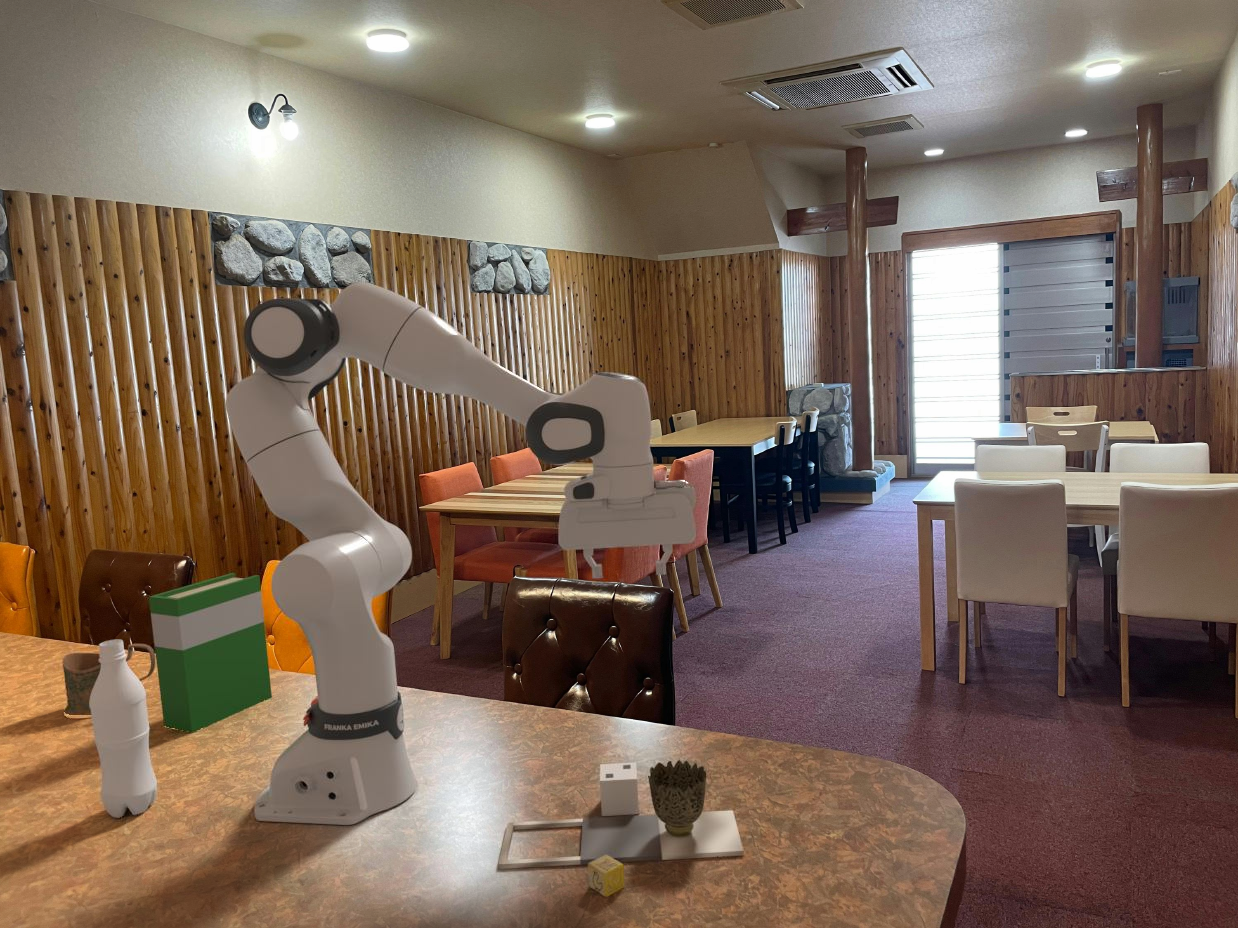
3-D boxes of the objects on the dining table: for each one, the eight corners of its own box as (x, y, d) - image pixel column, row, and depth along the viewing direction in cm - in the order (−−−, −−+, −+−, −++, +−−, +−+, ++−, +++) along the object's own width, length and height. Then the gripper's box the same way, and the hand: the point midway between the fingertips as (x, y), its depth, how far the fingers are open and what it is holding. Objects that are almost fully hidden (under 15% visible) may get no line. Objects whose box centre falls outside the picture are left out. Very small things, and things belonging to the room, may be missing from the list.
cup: (704, 849, 112) (701, 788, 111) (645, 844, 114) (642, 784, 113) (711, 818, 119) (709, 760, 118) (656, 814, 121) (654, 757, 120)
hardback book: (244, 692, 179) (232, 573, 176) (271, 697, 175) (259, 575, 172) (164, 727, 163) (148, 596, 160) (192, 733, 160) (176, 599, 157)
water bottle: (170, 800, 135) (150, 636, 132) (130, 824, 128) (108, 652, 125) (133, 794, 137) (113, 633, 134) (91, 818, 130) (69, 649, 127)
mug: (143, 716, 169) (135, 653, 168) (49, 720, 169) (41, 658, 168) (174, 693, 181) (167, 634, 179) (86, 697, 181) (78, 638, 180)
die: (601, 815, 123) (599, 780, 122) (602, 798, 128) (600, 763, 127) (639, 813, 123) (637, 778, 122) (637, 796, 128) (636, 761, 127)
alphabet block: (608, 876, 109) (606, 852, 108) (625, 887, 106) (624, 862, 106) (588, 887, 107) (586, 863, 106) (605, 898, 104) (604, 873, 104)
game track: (498, 868, 112) (498, 864, 111) (508, 826, 121) (507, 822, 121) (743, 855, 112) (743, 850, 111) (732, 814, 121) (732, 810, 121)
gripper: (693, 476, 136) (697, 566, 138) (556, 483, 136) (562, 574, 138) (697, 481, 130) (701, 576, 132) (554, 490, 130) (560, 584, 132)
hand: (629, 575), depth 135 cm, fingers open, 8 cm apart
